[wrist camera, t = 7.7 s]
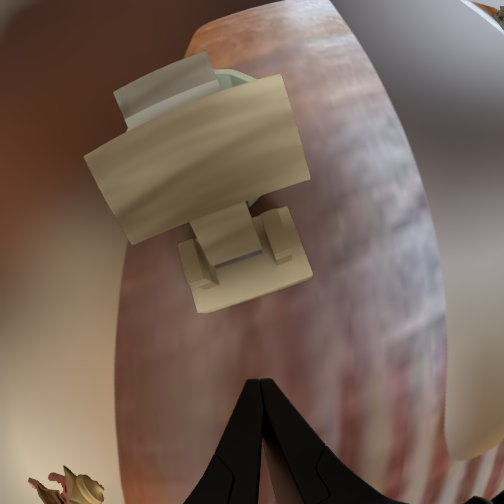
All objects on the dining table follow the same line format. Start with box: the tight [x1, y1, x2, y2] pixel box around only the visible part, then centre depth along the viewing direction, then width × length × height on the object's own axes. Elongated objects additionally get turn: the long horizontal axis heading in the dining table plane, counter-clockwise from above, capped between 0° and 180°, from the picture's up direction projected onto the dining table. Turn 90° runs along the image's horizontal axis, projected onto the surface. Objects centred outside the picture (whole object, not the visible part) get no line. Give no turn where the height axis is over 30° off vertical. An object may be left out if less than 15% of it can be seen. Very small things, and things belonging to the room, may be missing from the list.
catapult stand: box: [177, 206, 313, 313], centre depth 18 cm, size 5×8×6 cm, turn 108°
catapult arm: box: [84, 51, 311, 269], centre depth 15 cm, size 5×10×11 cm
